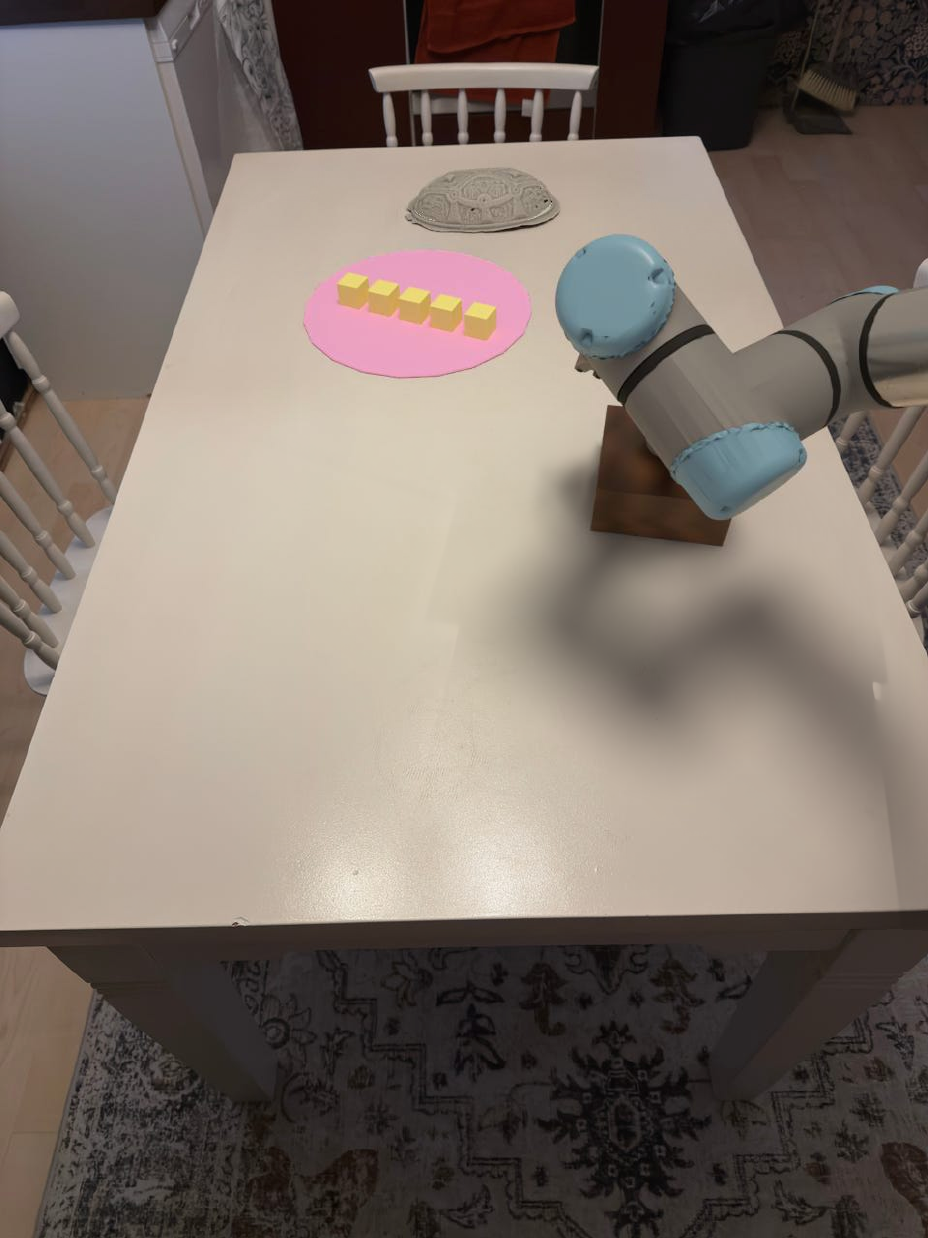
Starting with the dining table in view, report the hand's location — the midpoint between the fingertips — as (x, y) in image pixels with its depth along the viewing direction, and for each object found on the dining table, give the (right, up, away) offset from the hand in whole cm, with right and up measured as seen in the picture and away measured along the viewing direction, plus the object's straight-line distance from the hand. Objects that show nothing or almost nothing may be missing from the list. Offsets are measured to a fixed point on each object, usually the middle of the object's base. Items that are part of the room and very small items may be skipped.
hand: (685, 402), depth 86 cm
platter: (-29, +21, +31) cm, 48 cm away
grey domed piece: (-20, +44, +49) cm, 69 cm away
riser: (-1, -8, +7) cm, 11 cm away
